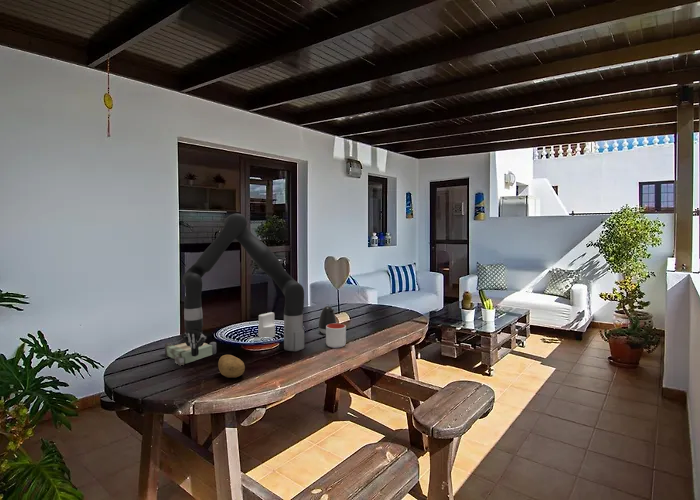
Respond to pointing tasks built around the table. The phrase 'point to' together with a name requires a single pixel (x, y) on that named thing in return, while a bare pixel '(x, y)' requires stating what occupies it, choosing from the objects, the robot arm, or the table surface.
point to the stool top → (177, 351)
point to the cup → (335, 335)
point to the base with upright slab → (266, 325)
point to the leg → (200, 353)
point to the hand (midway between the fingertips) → (195, 355)
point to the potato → (231, 366)
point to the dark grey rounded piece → (326, 318)
